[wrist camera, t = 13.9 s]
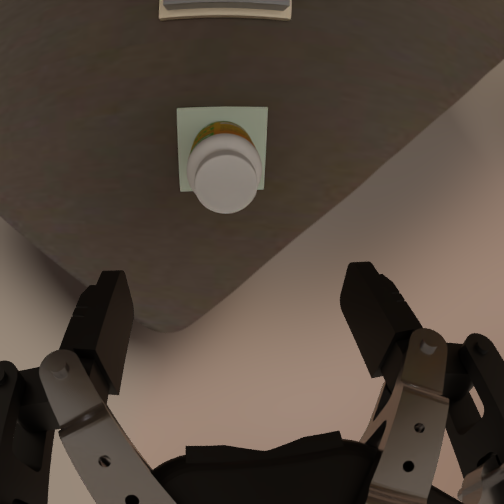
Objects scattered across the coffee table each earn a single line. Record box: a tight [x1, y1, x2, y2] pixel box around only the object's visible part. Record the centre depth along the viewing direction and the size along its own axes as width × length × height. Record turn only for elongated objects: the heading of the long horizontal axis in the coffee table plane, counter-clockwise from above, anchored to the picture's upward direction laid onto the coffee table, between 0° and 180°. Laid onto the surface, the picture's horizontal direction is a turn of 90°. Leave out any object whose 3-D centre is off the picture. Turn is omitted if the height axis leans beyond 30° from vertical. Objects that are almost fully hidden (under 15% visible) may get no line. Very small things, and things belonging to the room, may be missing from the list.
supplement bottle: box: [187, 121, 262, 214], centre depth 23 cm, size 5×5×10 cm
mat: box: [177, 106, 268, 192], centre depth 27 cm, size 8×8×1 cm
